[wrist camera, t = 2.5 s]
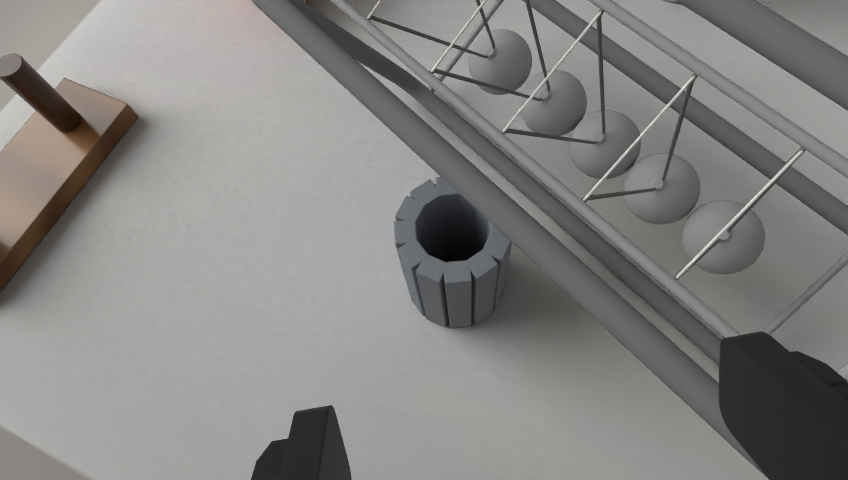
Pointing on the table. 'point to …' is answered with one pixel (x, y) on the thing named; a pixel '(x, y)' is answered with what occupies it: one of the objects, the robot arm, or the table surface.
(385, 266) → the table surface
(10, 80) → the peg rack
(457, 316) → the grooved hollow cylinder
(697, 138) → the table surface
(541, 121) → the newton's cradle
